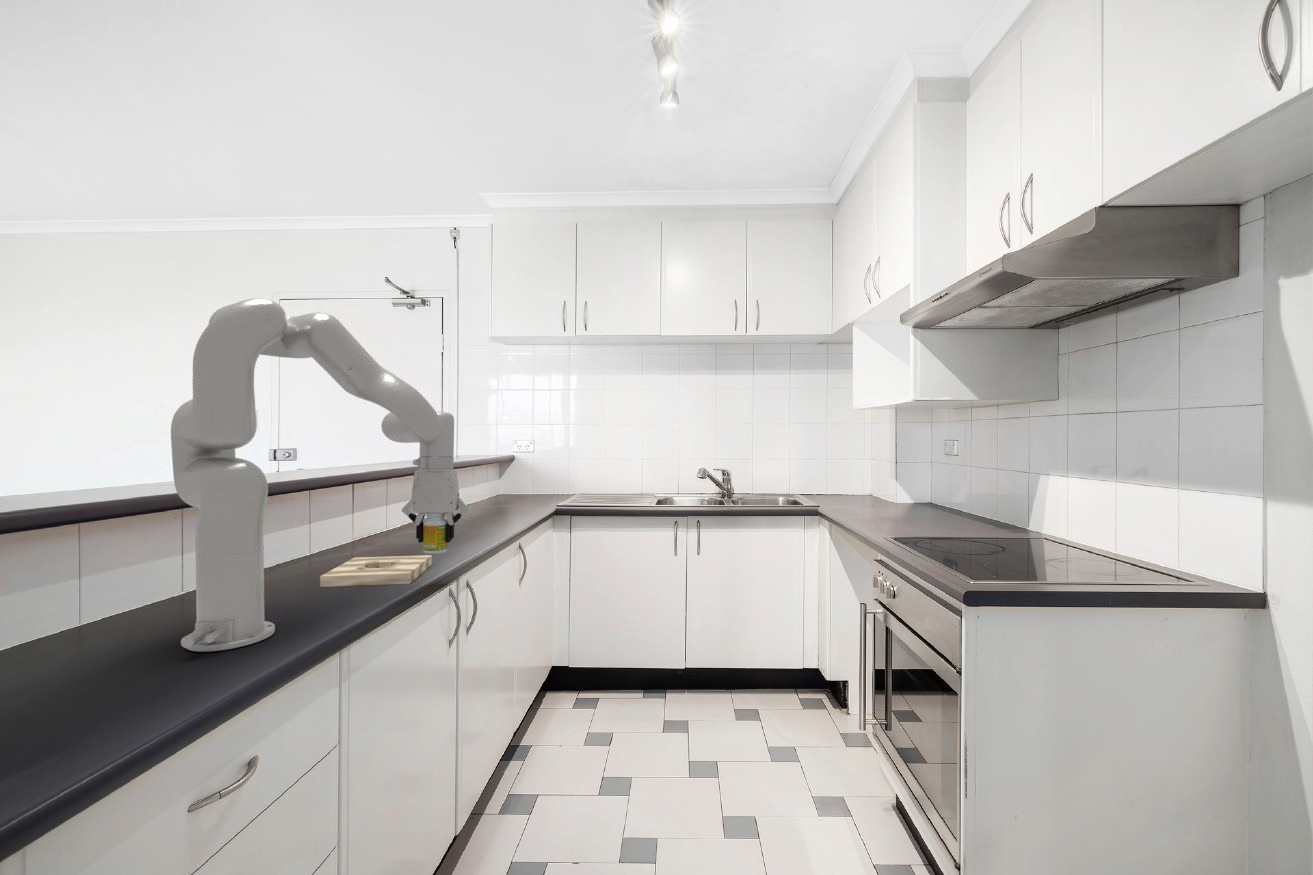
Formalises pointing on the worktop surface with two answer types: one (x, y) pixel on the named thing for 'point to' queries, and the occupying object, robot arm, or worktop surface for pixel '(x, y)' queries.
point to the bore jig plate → (377, 571)
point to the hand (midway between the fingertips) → (435, 540)
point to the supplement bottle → (434, 534)
